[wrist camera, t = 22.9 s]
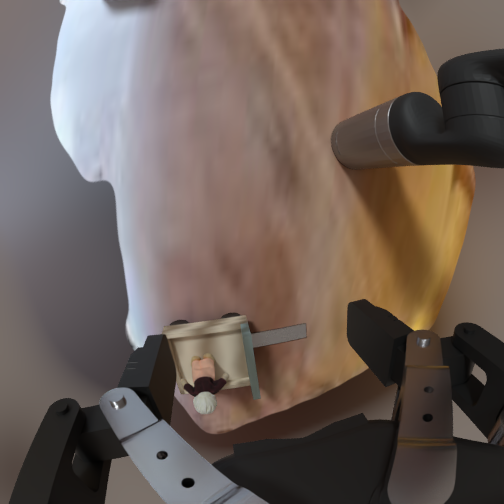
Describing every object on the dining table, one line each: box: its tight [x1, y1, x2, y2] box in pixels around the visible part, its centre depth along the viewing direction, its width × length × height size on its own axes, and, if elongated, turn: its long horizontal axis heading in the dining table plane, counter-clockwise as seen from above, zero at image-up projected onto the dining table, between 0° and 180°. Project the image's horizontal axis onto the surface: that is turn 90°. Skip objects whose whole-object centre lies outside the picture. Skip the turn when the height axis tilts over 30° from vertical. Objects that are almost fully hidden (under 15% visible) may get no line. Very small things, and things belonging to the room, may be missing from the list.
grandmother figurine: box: [180, 353, 229, 414], centre depth 39 cm, size 8×4×13 cm, turn 111°
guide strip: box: [251, 323, 306, 348], centre depth 49 cm, size 26×3×1 cm, turn 97°
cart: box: [162, 313, 261, 400], centre depth 44 cm, size 14×13×9 cm
